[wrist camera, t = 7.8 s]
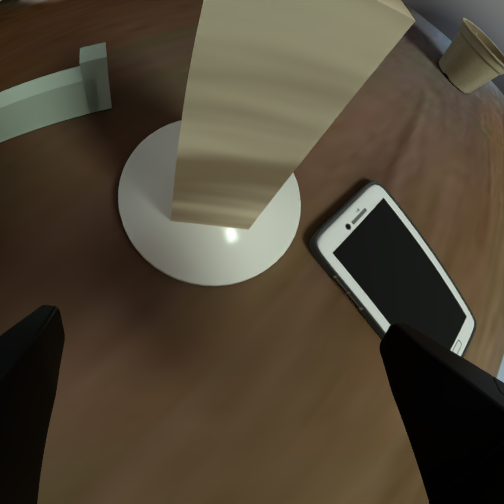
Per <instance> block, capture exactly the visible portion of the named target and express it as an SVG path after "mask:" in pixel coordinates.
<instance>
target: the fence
mask: <svg viewBox="0 0 504 504" xmlns="http://www.w3.org/2000/svg"><path fill="white" fill-rule="evenodd" d="M110 108H112V104H111V95H110V86H109V77H108V66H107V54H106V42H105V43H100V44H95V45H91V46H87V47H83V48H80V66H78V67H74V68H70V69H67V70H63V71H60V72H56V73H53V74H50V75H47V76H44V77H40V78H37V79H35V80H32V81H29V82H26V83H23V84H20V85H18V86H15V87H13V88H10V89H7V90H5V91H2V92H0V142H3V141H5V140H8V139H10V138H13V137H16V136H18V135H21V134H24V133H27V132H30V131H33V130H35V129H38V128H41V127H45V126H48V125H51V124H54V123H57V122H61V121H64V120H67V119H71V118H74V117H78V116H82V115H86V114H89V113H93V112H97V111H101V110H106V109H110Z"/></svg>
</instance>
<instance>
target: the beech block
mask: <svg viewBox="0 0 504 504" xmlns="http://www.w3.org/2000/svg"><path fill="white" fill-rule="evenodd" d="M414 22H415V20H414V18H413V17H412V15H411V14H410V12H409V11H408V10H407V8H406V7H405V5H404V4H403V3H402V1H401V0H204V2H203V6H202V11H201V15H200V20H199V24H198V29H197V34H196V39H195V44H194V49H193V54H192V59H191V65H190V70H189V76H188V82H187V88H186V94H185V101H184V107H183V114H182V121H181V128H180V136H179V144H178V152H177V160H176V169H175V179H174V189H173V200H172V212H171V221H174V222H184V223H193V224H203V225H212V226H221V227H230V228H239V229H247V230H249V228H250V227H251V226H252V225H253V223H254V222H255V221H256V219H257V218H258V217H259V216H260V214H261V213H262V212H263V210H264V209H265V208H266V206H267V205H268V204H269V203H270V201H271V200H272V199H273V197H274V196H275V195H276V194H277V192H278V191H279V190H280V188H281V187H282V186H283V185H284V183H285V182H286V181H287V180H288V178H289V177H290V176H291V174H292V173H293V172H294V171H295V169H296V168H297V167H298V166H299V164H300V163H301V162H302V160H303V159H304V158H305V157H306V155H307V154H308V153H309V152H310V150H311V149H312V148H313V147H314V145H315V144H316V143H317V141H318V140H319V139H320V138H321V136H322V135H323V134H324V133H325V131H326V130H327V129H328V128H329V126H330V125H331V124H332V123H333V121H334V120H335V119H336V118H337V116H338V115H339V114H340V113H341V111H342V110H343V109H344V108H345V106H346V105H347V104H348V103H349V101H350V100H351V99H352V98H353V96H354V95H355V94H356V93H357V92H358V90H359V89H360V88H361V87H362V85H363V84H364V83H365V82H366V80H367V79H368V78H369V77H370V75H371V74H372V73H373V72H374V71H375V69H376V68H377V67H378V66H379V64H380V63H381V62H382V61H383V60H384V58H385V57H386V56H387V55H388V53H389V52H390V51H391V50H392V49H393V47H394V46H395V45H396V44H397V43H398V41H399V40H400V39H401V38H402V37H403V35H404V34H405V33H406V32H407V30H408V29H409V28H410V27H411V26H412V24H413V23H414Z"/></svg>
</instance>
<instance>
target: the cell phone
mask: <svg viewBox="0 0 504 504" xmlns="http://www.w3.org/2000/svg"><path fill="white" fill-rule="evenodd" d="M309 248H310V251H311V253H312V254H313V256H314V257H315V259H316V260H317V261H318V262H319V264H320V265H321V266H322V267H323V268H324V270H325V271H326V272H327V273H328V275H329V276H330V277H333V278H334V279H335V280H336V281H337V282H338V284H339V285H340V286H341V287H342V288H343V290H344V291H345V292H346V293H347V294H348V296H349V297H350V298H351V299H352V300H353V302H354V303H355V304H356V305H357V307H358V308H359V309H360V311H359V312H360V313H361V314H362V315H363V317H364V318H365V319H366V320H367V322H368V323H369V324H370V325H371V327H372V328H373V329H374V330H375V332H376V333H377V334H378V335H379V337H380V338H381V339H383V337H384V335H385V334H386V332H387V330H388V328H389V326H390V325H391V324H392V323H396V322H404V323H406V324H408V325H409V326H411V327H413V328H414V329H416V330H418V331H419V332H421V333H423V334H424V335H426V336H428V337H429V338H431V339H433V340H434V341H436V342H438V343H439V344H441V345H443V346H444V347H446V348H448V349H449V350H451V351H453V352H454V353H456V354H458V355H459V356H461V357H462V358H463V357H464V355H465V353H466V351H467V349H468V347H469V344H470V342H471V340H472V338H473V336H474V333H475V330H476V320H475V318H474V316H473V313H472V312H471V310H470V308H469V307H468V305H467V303H466V301H465V300H464V298H463V296H462V295H461V293H460V292H459V290H458V288H457V287H456V285H455V283H454V282H453V280H452V279H451V277H450V276H449V274H448V272H447V271H446V269H445V268H444V266H443V265H442V263H441V262H440V260H439V259H438V257H437V256H436V254H435V253H434V252H433V250H432V249H431V247H430V246H429V244H428V243H427V242H426V240H425V239H424V237H423V236H422V235H421V233H420V232H419V230H418V229H417V228H416V226H415V225H414V224H413V222H412V221H411V220H410V218H409V217H408V216H407V214H406V213H405V212H404V211H403V209H402V208H401V207H400V205H399V204H398V203H397V202H396V200H395V199H394V198H393V197H392V195H391V194H390V193H389V192H388V191H387V190H386V189H385V188H384V187H383V185H382V184H380V183H379V182H377V181H370V182H368V183H367V184H365V185H364V186H363V187H362V188H360V189H359V190H358V191H357V192H356V193H355V194H354V195H353V196H352V197H351V198H350V199H349V200H348V201H347V202H346V203H345V204H344V205H343V206H342V207H341V208H340V209H339V210H338V211H336V212H335V213H334V214H333V215H332V216H331V217H330V218H329V219H328V220H327V221H326V222H325V223H324V224H323V225H322V226H321V227H320V228H319V229H318V230H317V231H316V232H315V233H314V234H313V236H312V237H311V238H310V241H309Z"/></svg>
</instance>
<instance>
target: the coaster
mask: <svg viewBox="0 0 504 504" xmlns="http://www.w3.org/2000/svg"><path fill="white" fill-rule="evenodd" d="M181 121H182V120H181ZM181 121H177V122H174V123H171V124H168V125H166V126H164V127H162V128H160V129H158V130H157V131H155V132H153V133H152V134H150V135H149V136H148V137H147V138H146V139H144V140H143V141H142V142H141V143H140V144H139V145H138V146H137V147H136V149H135V150H134V151H133V153H132V154H131V155H130V157H129V158H128V160H127V162H126V164H125V166H124V169H123V171H122V175H121V178H120V182H119V189H118V205H119V212H120V216H121V219H122V223H123V226H124V229H125V231H126V233H127V235H128V238H129V240H130V241H131V243H132V244H133V246H134V247H135V249H136V250H137V251H138V253H139V254H140V255H141V256H142V257H143V258H144V259H145V260H146V261H147V262H148V263H149V264H151V265H152V266H153V267H154V268H156V269H157V270H159V271H160V272H162V273H163V274H165V275H167V276H169V277H171V278H173V279H176V280H178V281H181V282H185V283H188V284H192V285H198V286H208V287H218V286H228V285H233V284H237V283H241V282H243V281H246V280H248V279H251V278H253V277H255V276H257V275H258V274H260V273H262V272H263V271H265V270H266V269H268V268H269V267H270V266H271V265H273V264H274V263H275V262H276V261H277V260H278V259H279V258H280V257H281V256H282V255H283V254H284V253H285V251H286V250H287V248H288V247H289V245H290V244H291V242H292V240H293V238H294V236H295V233H296V230H297V227H298V224H299V219H300V209H301V202H300V193H299V188H298V184H297V181H296V178H295V176H294V173H292V174H291V176H290V177H289V178H288V180H287V181H286V182H285V183H284V185H283V186H282V187H281V188H280V190H279V191H278V192H277V194H276V195H275V196H274V197H273V199H272V200H271V201H270V203H269V204H268V205H267V206H266V208H265V209H264V210H263V212H262V213H261V214H260V216H259V217H258V218H257V219H256V221H255V222H254V223H253V225H252V226H251V227H250V228H249V230H247V229H239V228H230V227H221V226H212V225H203V224H193V223H184V222H174V221H171V212H172V200H173V189H174V179H175V169H176V160H177V152H178V144H179V136H180V128H181Z"/></svg>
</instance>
